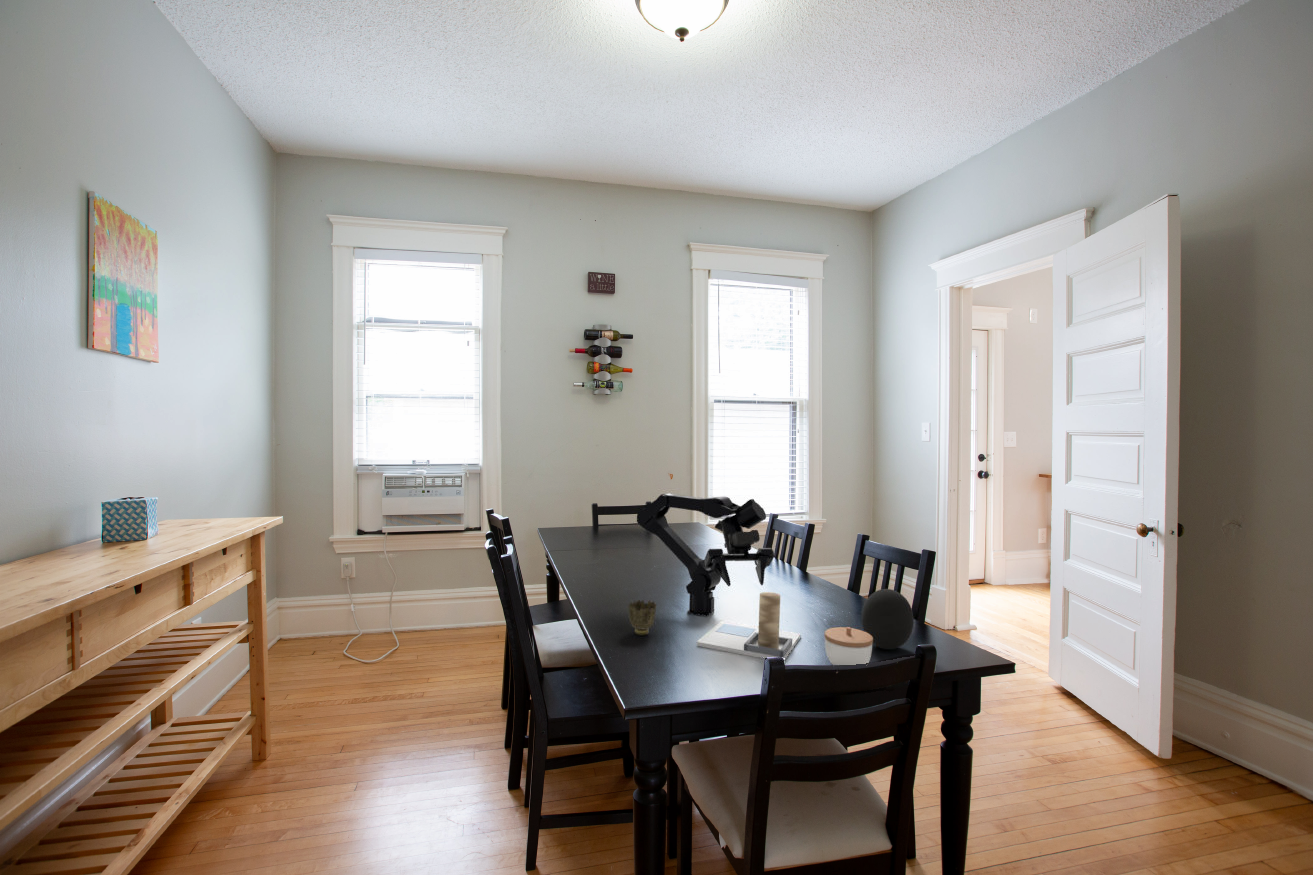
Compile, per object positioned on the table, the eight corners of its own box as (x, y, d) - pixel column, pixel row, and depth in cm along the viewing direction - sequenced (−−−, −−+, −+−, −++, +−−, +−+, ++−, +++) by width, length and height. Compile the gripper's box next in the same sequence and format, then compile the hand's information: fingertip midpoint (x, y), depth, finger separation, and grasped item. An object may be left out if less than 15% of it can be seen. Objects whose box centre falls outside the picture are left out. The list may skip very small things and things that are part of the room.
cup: (659, 631, 162) (660, 601, 162) (650, 640, 155) (651, 609, 155) (633, 627, 165) (634, 598, 164) (623, 636, 158) (624, 605, 158)
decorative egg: (868, 636, 162) (870, 580, 162) (917, 646, 155) (919, 588, 155) (854, 649, 152) (856, 590, 152) (906, 661, 145) (908, 599, 145)
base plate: (696, 645, 152) (696, 635, 152) (721, 624, 169) (722, 615, 169) (783, 662, 143) (783, 651, 143) (800, 637, 160) (800, 628, 160)
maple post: (755, 648, 148) (757, 595, 148) (761, 642, 153) (762, 591, 153) (775, 652, 146) (777, 598, 146) (780, 645, 151) (782, 593, 150)
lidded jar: (836, 678, 134) (837, 636, 134) (815, 659, 145) (817, 620, 144) (881, 676, 136) (882, 634, 136) (857, 657, 147) (858, 619, 146)
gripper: (708, 519, 164) (719, 569, 154) (773, 519, 168) (788, 568, 157) (700, 542, 172) (709, 591, 162) (761, 541, 176) (775, 589, 165)
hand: (746, 584), depth 161 cm, fingers open, 9 cm apart
